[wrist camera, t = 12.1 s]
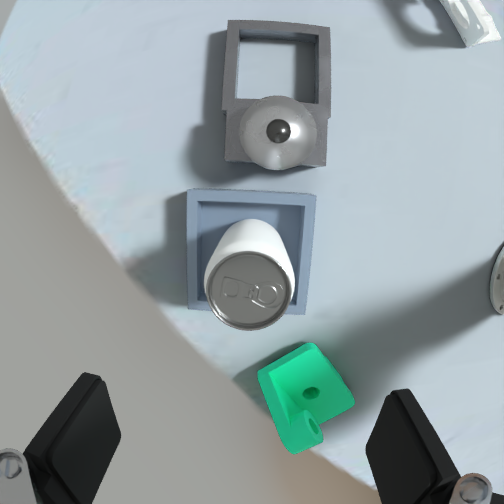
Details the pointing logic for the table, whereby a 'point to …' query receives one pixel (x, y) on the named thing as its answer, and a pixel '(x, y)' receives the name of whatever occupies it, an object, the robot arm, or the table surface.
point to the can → (249, 276)
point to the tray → (240, 208)
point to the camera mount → (303, 396)
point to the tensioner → (277, 104)
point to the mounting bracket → (471, 21)
